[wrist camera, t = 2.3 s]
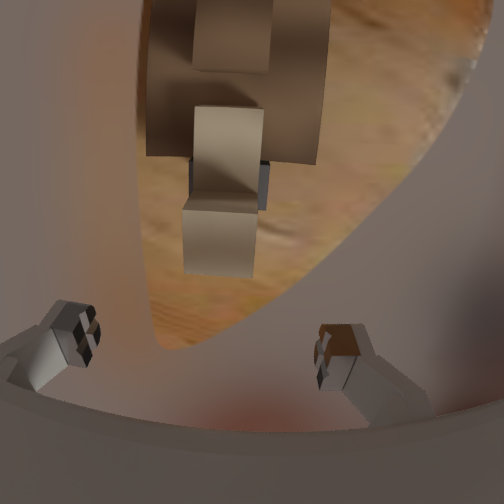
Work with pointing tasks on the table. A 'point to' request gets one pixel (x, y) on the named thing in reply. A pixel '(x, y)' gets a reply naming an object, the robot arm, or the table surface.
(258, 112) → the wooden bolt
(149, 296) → the table surface
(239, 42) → the toolbox lid
